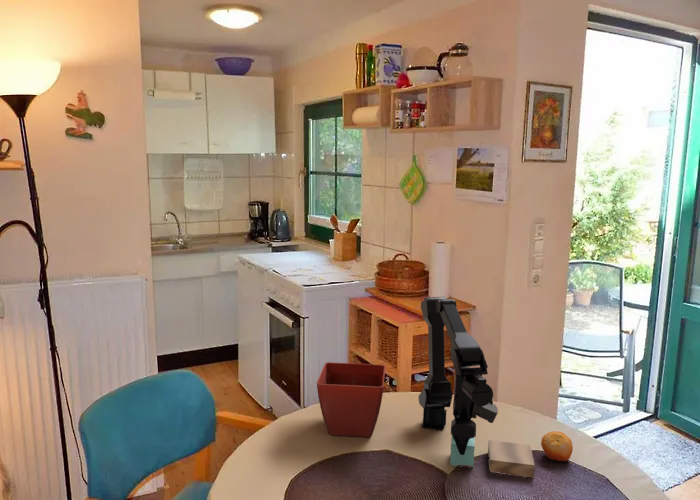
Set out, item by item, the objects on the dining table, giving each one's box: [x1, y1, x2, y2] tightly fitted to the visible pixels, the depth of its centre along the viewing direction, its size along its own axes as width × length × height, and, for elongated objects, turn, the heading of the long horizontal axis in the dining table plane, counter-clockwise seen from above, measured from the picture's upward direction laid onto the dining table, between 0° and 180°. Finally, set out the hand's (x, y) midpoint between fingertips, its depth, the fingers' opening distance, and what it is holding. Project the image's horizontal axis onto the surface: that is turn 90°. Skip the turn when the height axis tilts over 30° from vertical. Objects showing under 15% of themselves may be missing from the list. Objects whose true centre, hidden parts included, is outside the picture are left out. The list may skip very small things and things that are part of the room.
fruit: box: [540, 430, 574, 462], centre depth 153 cm, size 8×8×8 cm
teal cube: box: [449, 435, 475, 467], centre depth 150 cm, size 6×6×6 cm
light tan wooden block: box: [487, 439, 536, 478], centre depth 148 cm, size 11×11×4 cm
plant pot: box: [316, 362, 387, 438], centre depth 168 cm, size 19×19×17 cm
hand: (462, 446), depth 150 cm, fingers open, 9 cm apart
